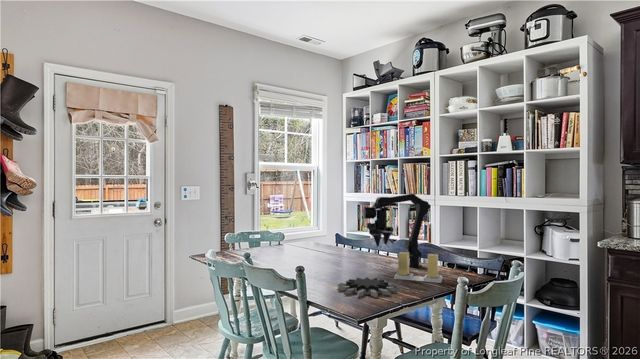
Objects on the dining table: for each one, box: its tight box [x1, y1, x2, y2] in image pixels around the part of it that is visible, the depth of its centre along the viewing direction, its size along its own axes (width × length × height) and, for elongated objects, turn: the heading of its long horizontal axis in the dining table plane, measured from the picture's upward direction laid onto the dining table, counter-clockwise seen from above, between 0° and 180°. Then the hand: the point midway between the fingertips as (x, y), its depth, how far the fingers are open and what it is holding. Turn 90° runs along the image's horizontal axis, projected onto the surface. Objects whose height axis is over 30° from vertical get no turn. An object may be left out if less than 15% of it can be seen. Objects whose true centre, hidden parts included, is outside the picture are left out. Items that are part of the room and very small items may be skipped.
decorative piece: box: [336, 276, 400, 299], centre depth 181 cm, size 30×4×30 cm
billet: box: [397, 251, 410, 276], centre depth 201 cm, size 4×4×12 cm
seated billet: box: [427, 253, 439, 279], centre depth 196 cm, size 4×4×12 cm
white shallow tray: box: [393, 271, 443, 284], centre depth 199 cm, size 9×23×2 cm, turn 67°
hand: (381, 245), depth 229 cm, fingers open, 9 cm apart
